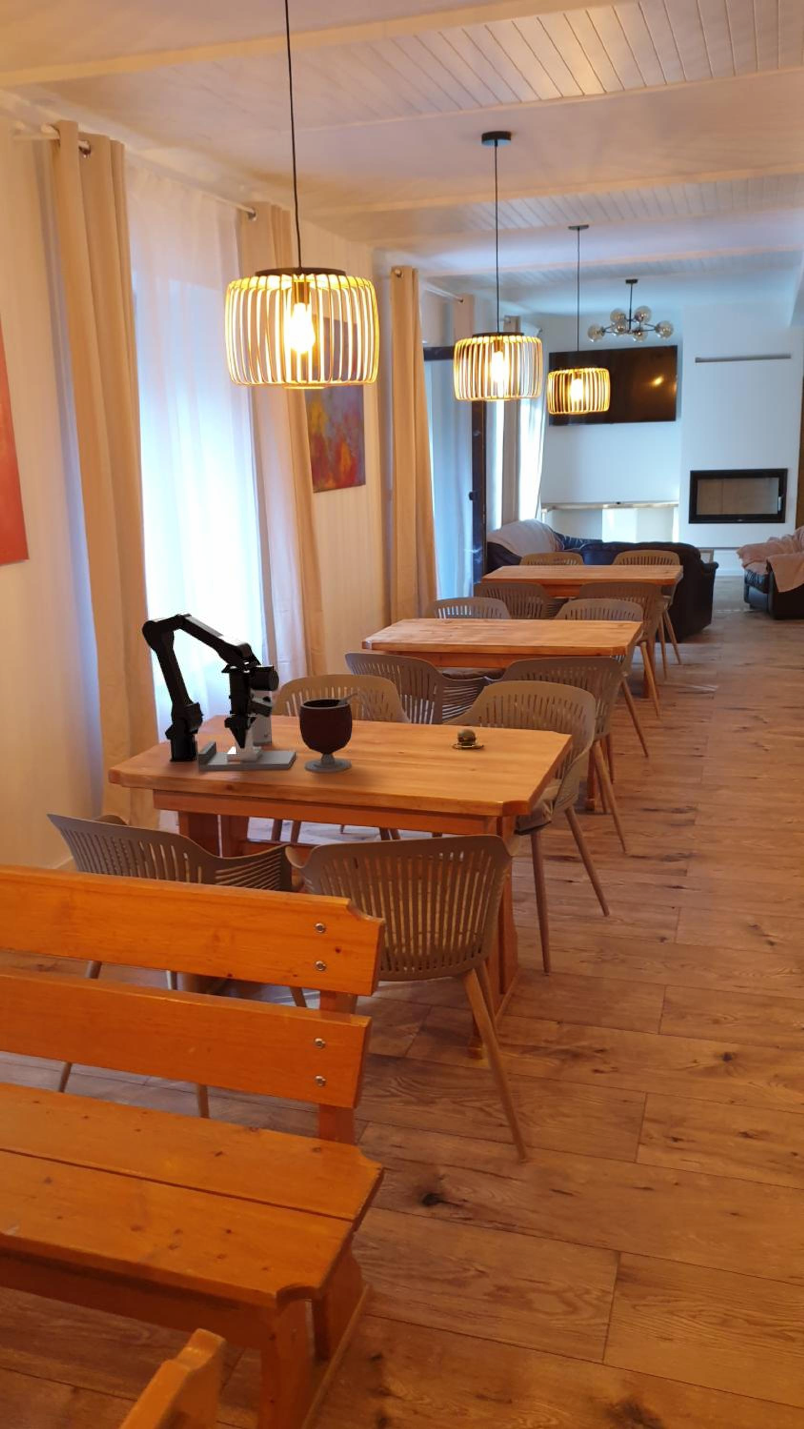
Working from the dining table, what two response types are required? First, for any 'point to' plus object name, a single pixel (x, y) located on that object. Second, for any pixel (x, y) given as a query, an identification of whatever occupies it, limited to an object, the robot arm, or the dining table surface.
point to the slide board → (267, 760)
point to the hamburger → (466, 738)
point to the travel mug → (261, 724)
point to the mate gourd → (326, 731)
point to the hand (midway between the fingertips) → (244, 746)
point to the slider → (245, 750)
